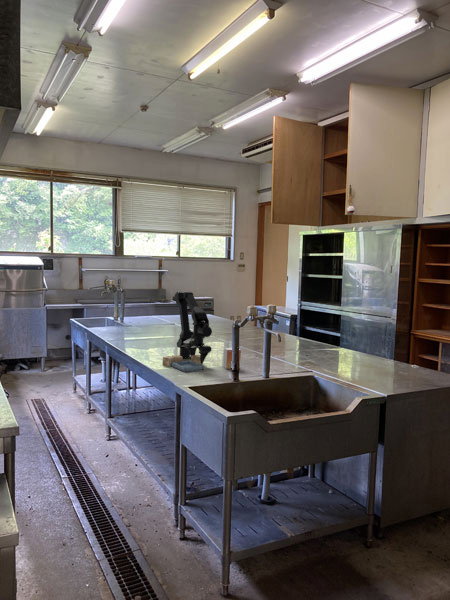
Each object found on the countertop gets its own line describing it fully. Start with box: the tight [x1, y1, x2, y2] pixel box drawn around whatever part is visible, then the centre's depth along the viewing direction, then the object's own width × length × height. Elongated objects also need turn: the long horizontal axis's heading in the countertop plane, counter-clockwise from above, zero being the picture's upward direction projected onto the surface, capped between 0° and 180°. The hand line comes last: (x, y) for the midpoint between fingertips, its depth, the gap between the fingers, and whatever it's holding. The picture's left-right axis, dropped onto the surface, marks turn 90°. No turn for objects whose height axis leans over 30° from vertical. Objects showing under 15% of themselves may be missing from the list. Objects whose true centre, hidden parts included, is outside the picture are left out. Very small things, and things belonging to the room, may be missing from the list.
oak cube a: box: [190, 354, 204, 365], centre depth 260 cm, size 4×4×4 cm
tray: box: [170, 360, 204, 373], centre depth 248 cm, size 14×12×2 cm
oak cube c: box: [162, 355, 175, 367], centre depth 252 cm, size 4×4×4 cm
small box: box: [222, 347, 242, 370], centre depth 254 cm, size 8×6×10 cm
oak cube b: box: [171, 354, 184, 362], centre depth 255 cm, size 4×4×4 cm
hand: (196, 361), depth 260 cm, fingers open, 9 cm apart
